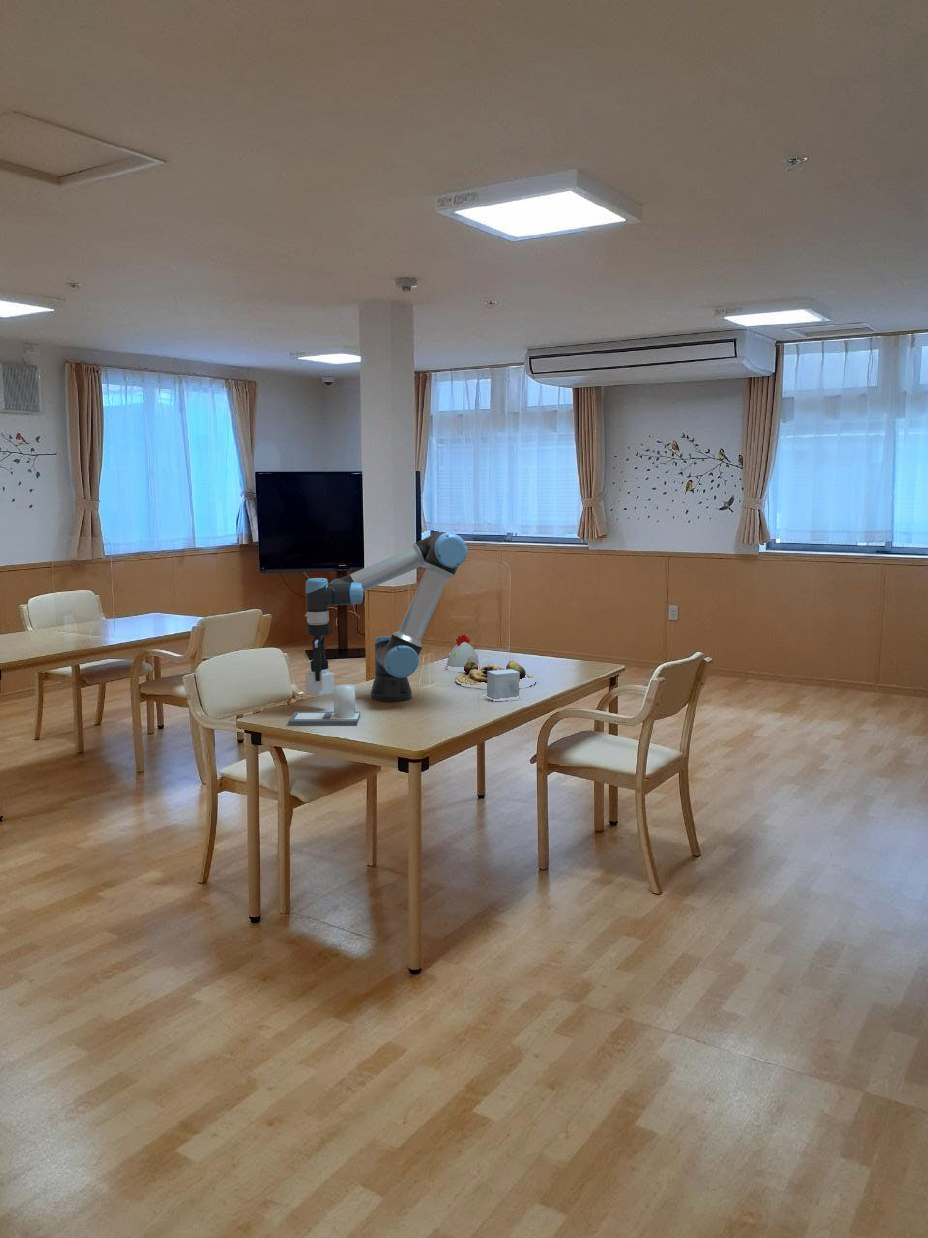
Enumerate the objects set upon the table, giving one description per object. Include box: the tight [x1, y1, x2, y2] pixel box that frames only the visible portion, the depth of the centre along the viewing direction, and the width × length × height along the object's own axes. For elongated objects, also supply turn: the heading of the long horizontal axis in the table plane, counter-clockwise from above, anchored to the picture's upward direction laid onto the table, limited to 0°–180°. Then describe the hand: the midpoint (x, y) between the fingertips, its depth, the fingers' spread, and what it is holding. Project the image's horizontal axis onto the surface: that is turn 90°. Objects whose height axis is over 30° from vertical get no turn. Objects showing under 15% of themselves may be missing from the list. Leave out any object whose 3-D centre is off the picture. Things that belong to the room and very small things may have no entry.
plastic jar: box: [333, 683, 356, 718], centre depth 335 cm, size 7×7×10 cm
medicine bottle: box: [305, 659, 335, 697], centre depth 351 cm, size 7×7×12 cm
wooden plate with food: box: [455, 659, 535, 685], centre depth 403 cm, size 32×32×8 cm
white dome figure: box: [446, 634, 480, 667], centre depth 431 cm, size 14×14×15 cm
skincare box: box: [486, 669, 520, 699], centre depth 370 cm, size 10×6×10 cm, turn 115°
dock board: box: [288, 711, 361, 727], centre depth 336 cm, size 22×14×2 cm, turn 91°
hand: (320, 687), depth 352 cm, fingers closed on medicine bottle, 10 cm apart
